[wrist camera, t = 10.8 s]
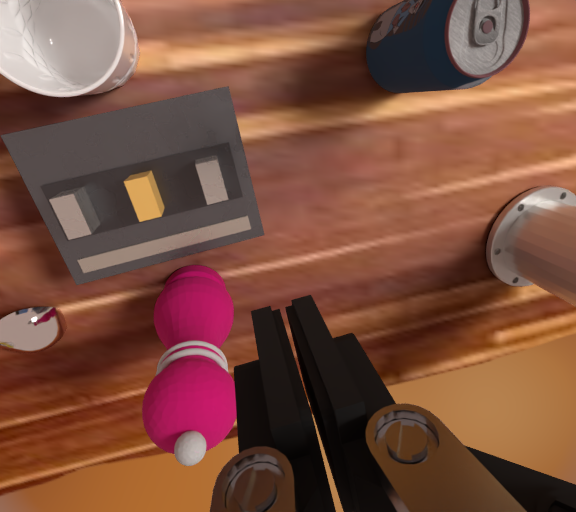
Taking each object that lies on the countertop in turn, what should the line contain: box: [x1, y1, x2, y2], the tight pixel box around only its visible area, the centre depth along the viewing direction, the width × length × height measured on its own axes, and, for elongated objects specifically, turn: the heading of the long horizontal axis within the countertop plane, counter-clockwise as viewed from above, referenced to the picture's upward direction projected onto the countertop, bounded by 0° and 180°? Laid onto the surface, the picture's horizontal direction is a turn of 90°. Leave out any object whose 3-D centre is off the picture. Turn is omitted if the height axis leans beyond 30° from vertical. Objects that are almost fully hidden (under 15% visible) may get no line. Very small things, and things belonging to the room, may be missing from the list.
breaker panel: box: [1, 87, 264, 285], centre depth 29 cm, size 16×12×8 cm
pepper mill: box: [142, 265, 237, 466], centre depth 29 cm, size 7×7×20 cm
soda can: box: [366, 0, 530, 93], centre depth 28 cm, size 7×7×12 cm
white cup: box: [0, 0, 140, 97], centre depth 24 cm, size 8×8×10 cm
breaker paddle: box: [124, 170, 165, 222], centre depth 27 cm, size 2×3×2 cm, turn 12°
